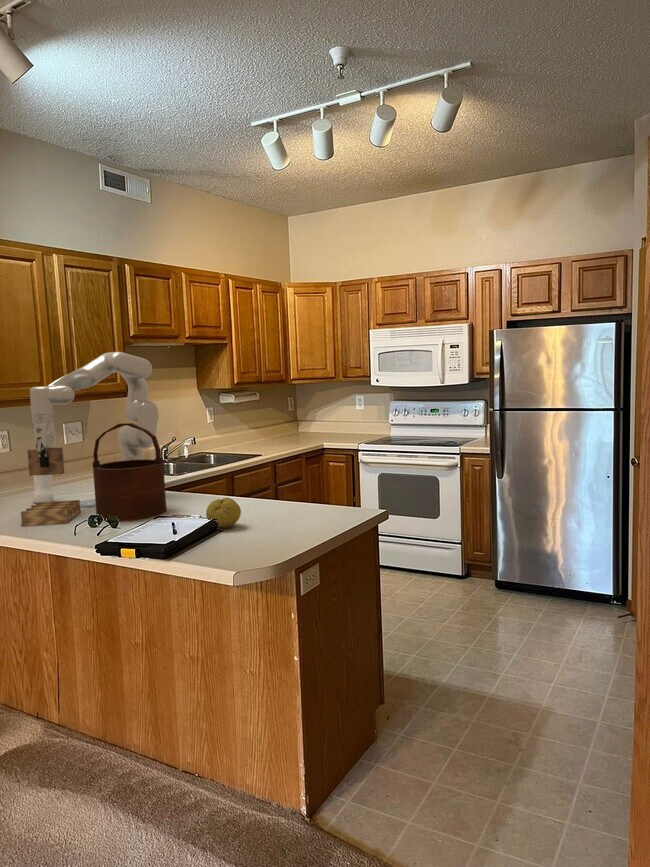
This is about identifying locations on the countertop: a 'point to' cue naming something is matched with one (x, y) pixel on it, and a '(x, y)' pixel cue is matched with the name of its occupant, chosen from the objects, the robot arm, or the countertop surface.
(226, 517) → the fruit
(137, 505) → the wooden bucket
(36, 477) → the bottle
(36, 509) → the rack
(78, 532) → the countertop surface
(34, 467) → the board
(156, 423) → the robot arm
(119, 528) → the countertop surface
